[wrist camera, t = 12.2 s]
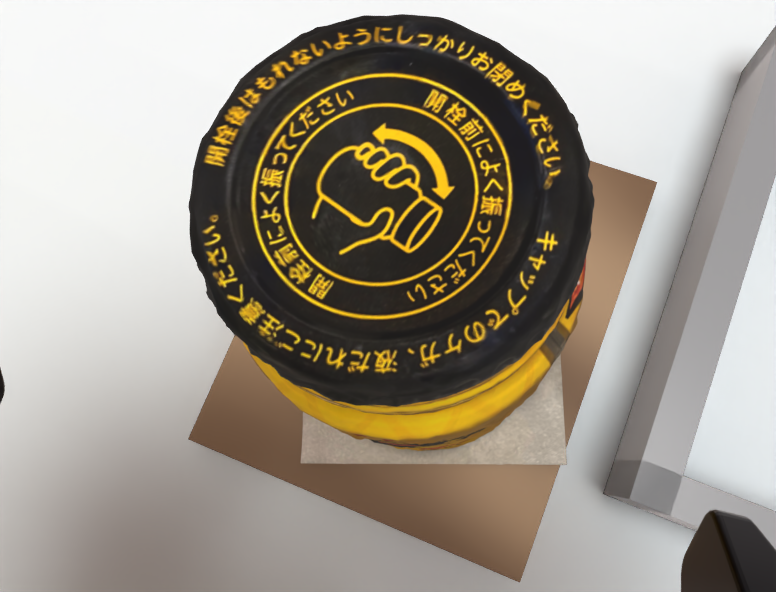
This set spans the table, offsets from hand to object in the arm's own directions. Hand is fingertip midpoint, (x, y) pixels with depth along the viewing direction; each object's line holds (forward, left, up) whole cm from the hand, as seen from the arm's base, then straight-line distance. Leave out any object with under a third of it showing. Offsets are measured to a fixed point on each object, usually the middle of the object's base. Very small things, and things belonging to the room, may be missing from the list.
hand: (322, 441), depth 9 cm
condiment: (+4, +1, -12) cm, 12 cm away
